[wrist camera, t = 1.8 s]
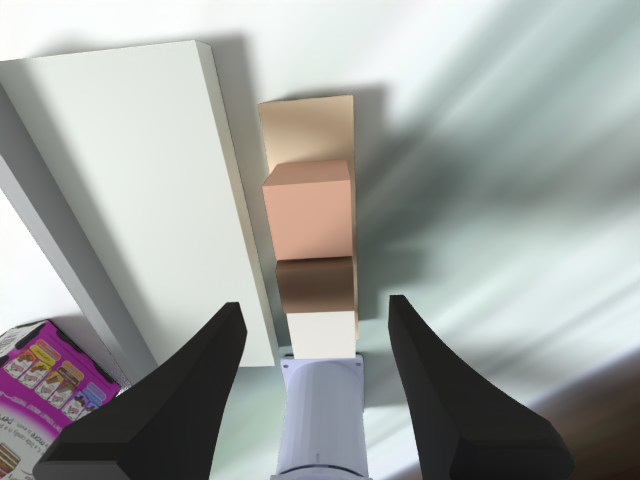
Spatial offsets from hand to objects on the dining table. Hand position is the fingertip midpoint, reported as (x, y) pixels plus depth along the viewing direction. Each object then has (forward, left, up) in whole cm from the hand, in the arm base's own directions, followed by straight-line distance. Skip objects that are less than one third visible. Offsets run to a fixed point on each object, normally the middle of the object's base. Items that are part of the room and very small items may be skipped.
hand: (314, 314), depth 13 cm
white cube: (-4, 0, -6) cm, 7 cm away
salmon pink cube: (+4, 0, -6) cm, 7 cm away
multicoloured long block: (0, 0, -9) cm, 9 cm away
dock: (0, +11, -8) cm, 14 cm away
